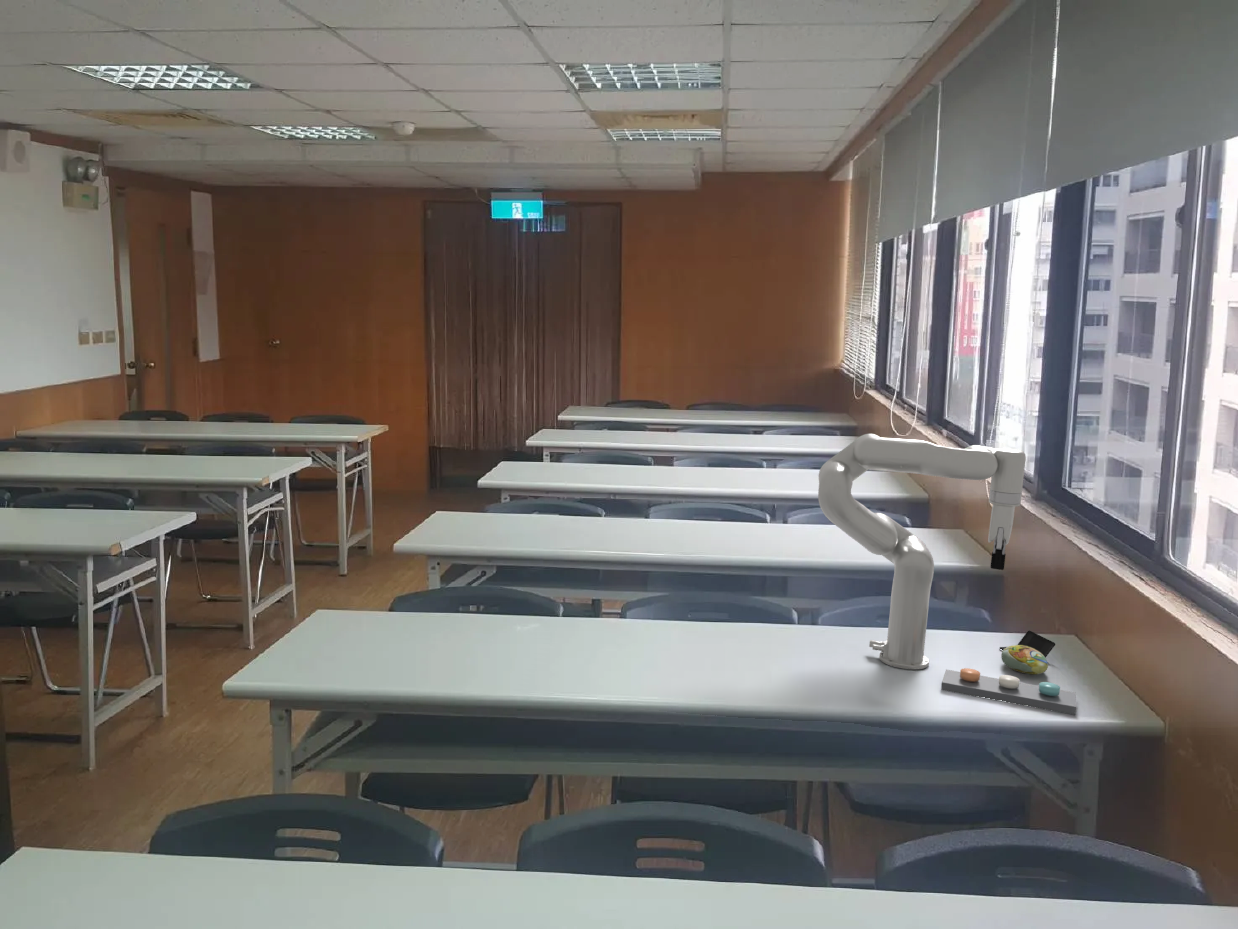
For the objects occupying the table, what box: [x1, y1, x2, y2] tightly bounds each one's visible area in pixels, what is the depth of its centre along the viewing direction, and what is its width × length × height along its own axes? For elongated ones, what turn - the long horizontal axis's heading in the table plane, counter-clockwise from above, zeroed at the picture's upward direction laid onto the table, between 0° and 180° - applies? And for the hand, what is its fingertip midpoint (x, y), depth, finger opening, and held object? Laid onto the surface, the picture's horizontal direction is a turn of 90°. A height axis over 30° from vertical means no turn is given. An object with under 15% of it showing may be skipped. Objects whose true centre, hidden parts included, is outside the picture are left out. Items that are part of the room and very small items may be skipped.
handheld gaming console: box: [999, 630, 1056, 659], centre depth 274 cm, size 12×7×10 cm
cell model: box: [1000, 644, 1049, 675], centre depth 263 cm, size 11×8×15 cm
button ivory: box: [998, 674, 1021, 689], centre depth 245 cm, size 5×5×2 cm
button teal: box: [1038, 681, 1061, 696], centre depth 241 cm, size 5×5×2 cm
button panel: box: [940, 668, 1077, 716], centre depth 245 cm, size 30×10×2 cm, turn 67°
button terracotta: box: [959, 667, 981, 681], centre depth 248 cm, size 5×5×2 cm
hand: (997, 568), depth 258 cm, fingers closed
